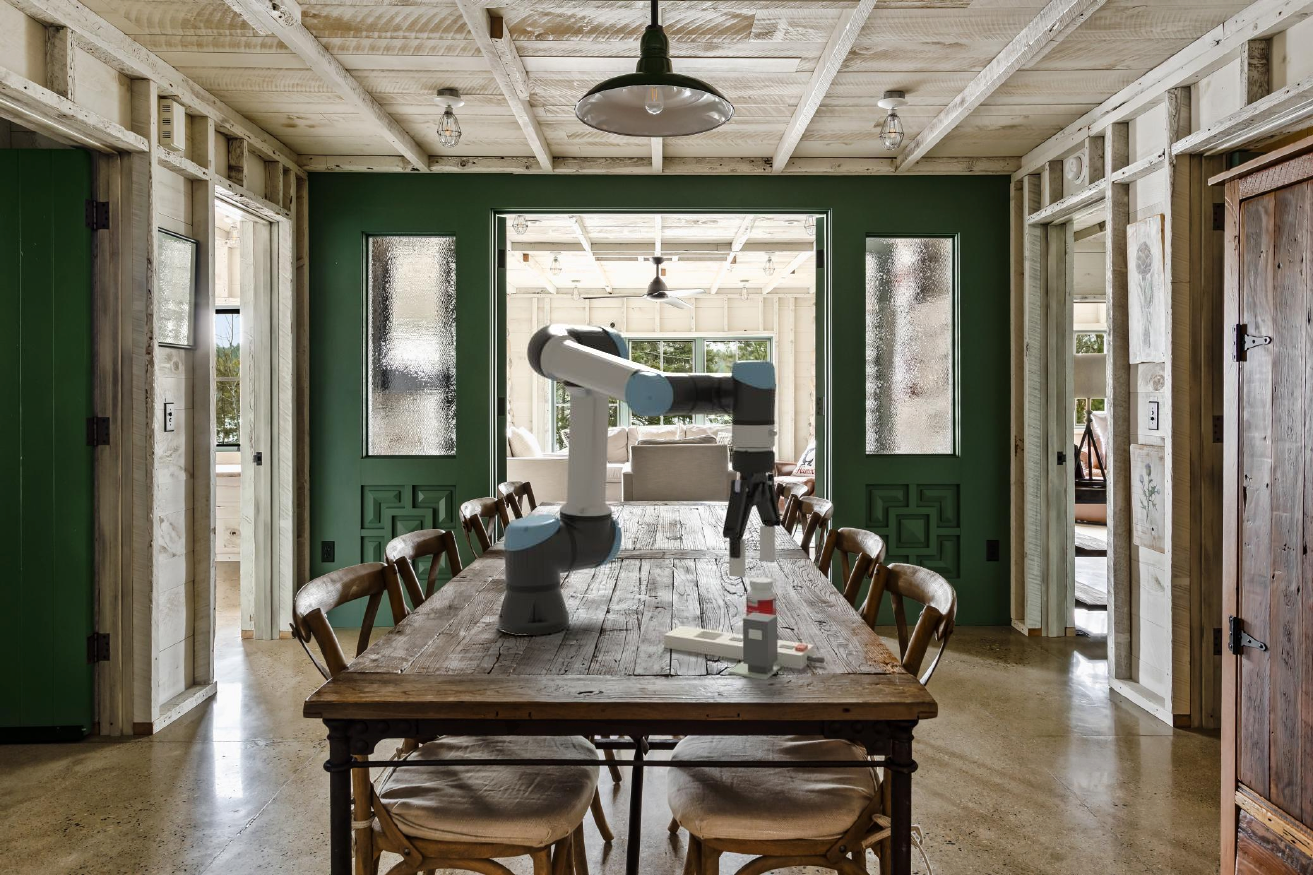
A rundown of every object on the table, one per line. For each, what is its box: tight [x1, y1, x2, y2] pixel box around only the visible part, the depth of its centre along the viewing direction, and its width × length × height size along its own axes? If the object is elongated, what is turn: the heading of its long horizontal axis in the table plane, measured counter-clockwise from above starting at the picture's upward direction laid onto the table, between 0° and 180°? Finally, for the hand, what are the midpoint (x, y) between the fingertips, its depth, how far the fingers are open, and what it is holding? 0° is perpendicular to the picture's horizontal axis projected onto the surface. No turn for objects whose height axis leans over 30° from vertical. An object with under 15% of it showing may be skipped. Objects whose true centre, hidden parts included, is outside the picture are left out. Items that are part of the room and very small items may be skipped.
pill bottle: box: [745, 577, 777, 617], centre depth 169 cm, size 6×6×11 cm
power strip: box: [663, 625, 825, 670], centre depth 155 cm, size 31×7×3 cm, turn 60°
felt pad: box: [728, 661, 782, 681], centre depth 146 cm, size 7×7×1 cm
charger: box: [742, 612, 779, 674], centre depth 144 cm, size 5×5×10 cm
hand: (752, 568), depth 145 cm, fingers open, 13 cm apart
